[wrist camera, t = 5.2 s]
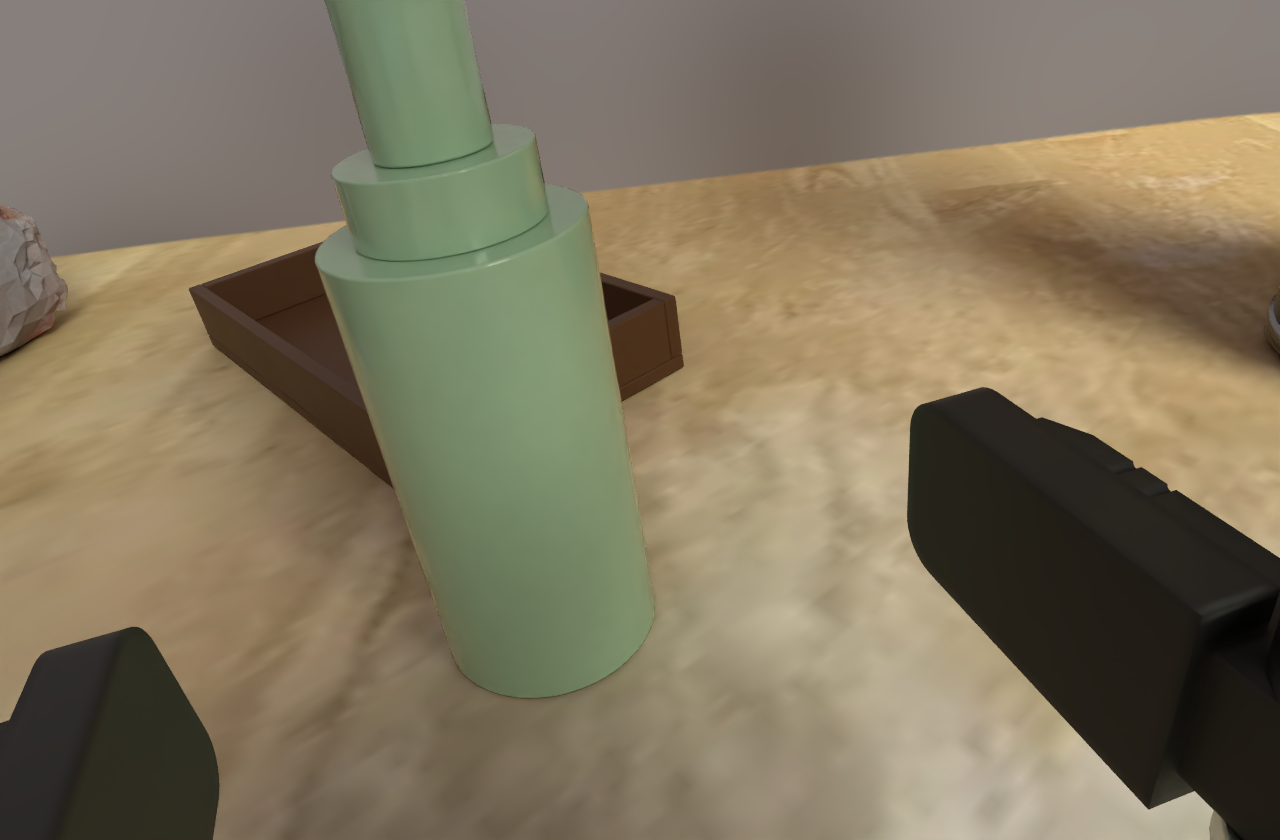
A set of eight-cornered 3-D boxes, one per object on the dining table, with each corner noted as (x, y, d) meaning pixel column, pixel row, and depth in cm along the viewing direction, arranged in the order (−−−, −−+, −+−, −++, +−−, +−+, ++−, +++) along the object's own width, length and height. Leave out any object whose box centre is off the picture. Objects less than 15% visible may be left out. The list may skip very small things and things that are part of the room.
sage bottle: (571, 524, 27) (440, -63, 18) (698, 607, 23) (605, -87, 15) (412, 624, 24) (172, -19, 15) (528, 739, 20) (291, -34, 12)
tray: (422, 264, 49) (407, 211, 48) (684, 366, 34) (675, 295, 33) (213, 345, 43) (187, 288, 41) (423, 513, 28) (396, 433, 27)
